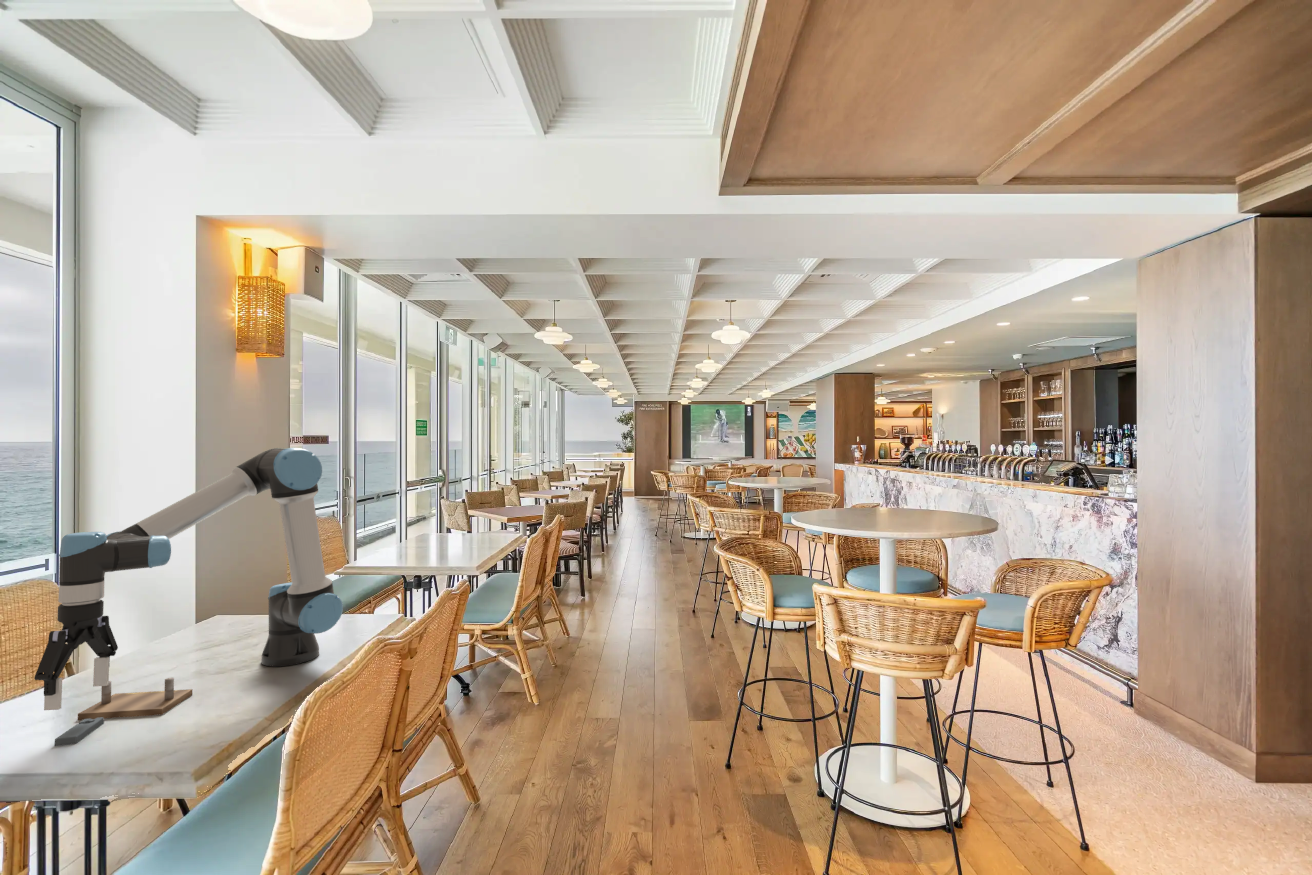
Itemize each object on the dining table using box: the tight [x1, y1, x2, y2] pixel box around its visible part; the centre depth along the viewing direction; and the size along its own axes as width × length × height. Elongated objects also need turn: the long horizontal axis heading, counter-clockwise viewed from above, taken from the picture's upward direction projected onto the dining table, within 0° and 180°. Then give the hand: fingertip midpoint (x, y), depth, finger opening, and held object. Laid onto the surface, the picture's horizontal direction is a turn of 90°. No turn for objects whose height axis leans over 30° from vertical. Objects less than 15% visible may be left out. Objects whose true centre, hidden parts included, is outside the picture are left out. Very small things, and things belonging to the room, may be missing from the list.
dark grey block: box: [54, 717, 105, 747], centre depth 136 cm, size 4×10×2 cm, turn 17°
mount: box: [77, 677, 193, 721], centre depth 151 cm, size 18×12×6 cm, turn 99°
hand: (77, 696), depth 136 cm, fingers open, 13 cm apart
